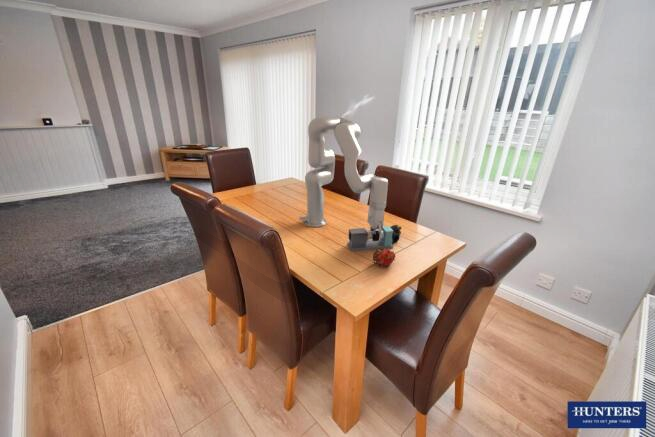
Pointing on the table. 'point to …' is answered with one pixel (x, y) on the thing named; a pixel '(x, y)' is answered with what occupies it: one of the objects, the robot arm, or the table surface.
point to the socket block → (387, 236)
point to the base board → (370, 246)
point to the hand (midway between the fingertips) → (374, 238)
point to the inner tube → (370, 232)
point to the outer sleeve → (358, 237)
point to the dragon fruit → (383, 257)
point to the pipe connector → (395, 233)
